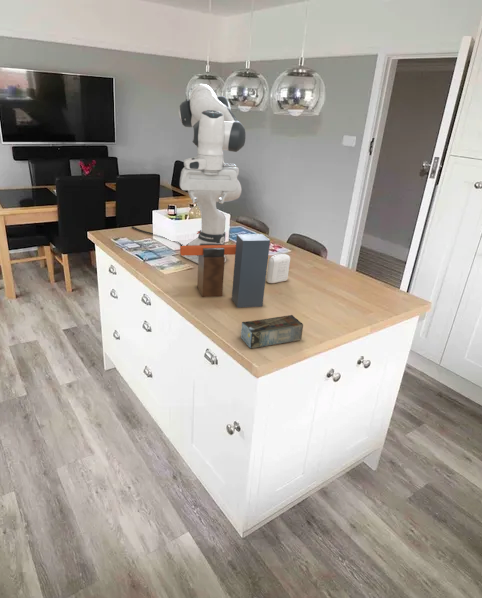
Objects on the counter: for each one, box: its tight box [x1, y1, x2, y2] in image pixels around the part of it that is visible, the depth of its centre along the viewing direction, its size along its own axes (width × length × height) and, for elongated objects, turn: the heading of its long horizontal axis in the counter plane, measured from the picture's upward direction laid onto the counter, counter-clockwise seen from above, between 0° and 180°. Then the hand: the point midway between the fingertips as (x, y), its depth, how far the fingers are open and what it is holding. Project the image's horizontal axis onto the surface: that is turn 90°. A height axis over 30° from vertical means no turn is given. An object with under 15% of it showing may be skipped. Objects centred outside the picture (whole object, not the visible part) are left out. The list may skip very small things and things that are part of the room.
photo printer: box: [265, 253, 291, 284], centre depth 181 cm, size 10×4×12 cm, turn 123°
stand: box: [231, 233, 271, 309], centre depth 155 cm, size 10×8×26 cm
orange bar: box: [179, 244, 236, 257], centre depth 160 cm, size 24×3×3 cm, turn 105°
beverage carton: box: [240, 314, 304, 349], centre depth 135 cm, size 8×19×7 cm, turn 112°
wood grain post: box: [196, 243, 226, 298], centre depth 164 cm, size 8×10×19 cm
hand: (207, 203), depth 148 cm, fingers open, 8 cm apart
